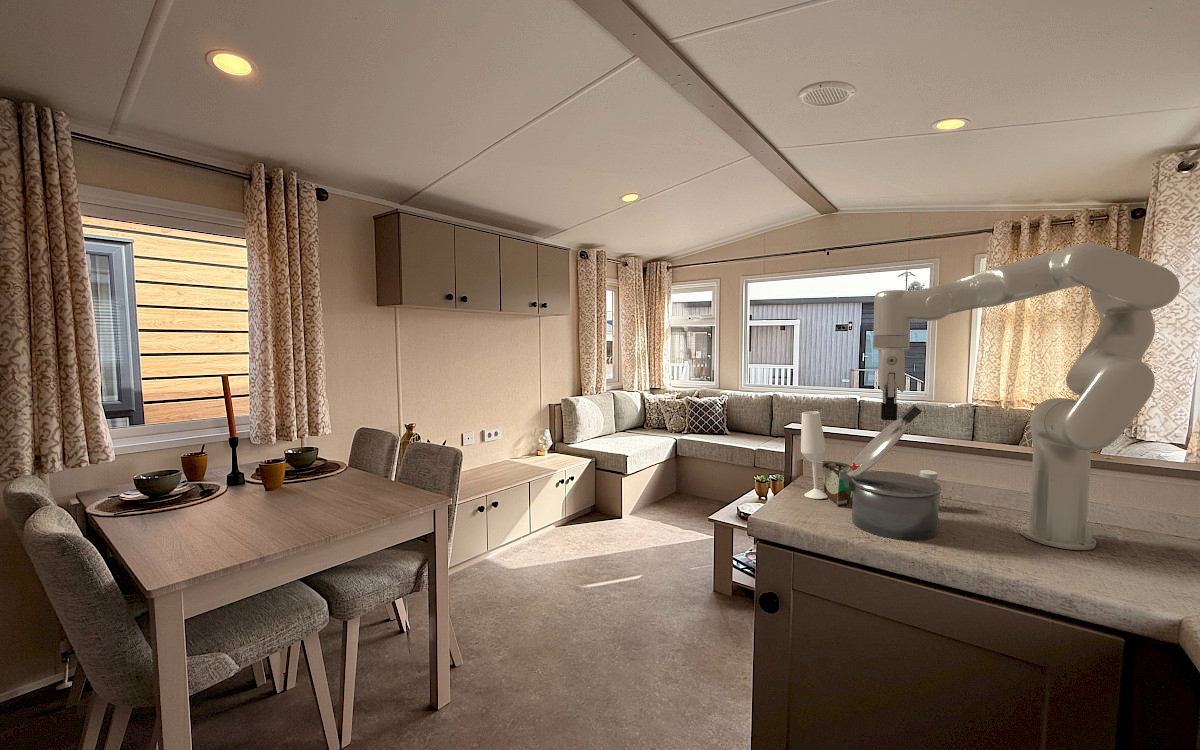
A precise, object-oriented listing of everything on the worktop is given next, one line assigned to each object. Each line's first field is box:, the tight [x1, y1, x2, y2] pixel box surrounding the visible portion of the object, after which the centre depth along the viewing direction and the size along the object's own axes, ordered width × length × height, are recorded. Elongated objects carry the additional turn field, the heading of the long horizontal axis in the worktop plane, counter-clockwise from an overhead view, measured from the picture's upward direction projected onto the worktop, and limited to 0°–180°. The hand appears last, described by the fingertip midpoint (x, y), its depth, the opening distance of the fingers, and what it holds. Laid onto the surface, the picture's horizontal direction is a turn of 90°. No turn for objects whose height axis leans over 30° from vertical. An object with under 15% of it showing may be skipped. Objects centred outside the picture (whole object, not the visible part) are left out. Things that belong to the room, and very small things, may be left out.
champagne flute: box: [800, 410, 827, 500], centre depth 146 cm, size 7×7×24 cm
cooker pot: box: [849, 470, 942, 542], centre depth 123 cm, size 19×19×11 cm
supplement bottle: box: [919, 469, 941, 503], centre depth 135 cm, size 5×5×10 cm
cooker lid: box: [847, 404, 922, 478], centre depth 123 cm, size 22×19×2 cm
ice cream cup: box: [821, 460, 852, 508], centre depth 141 cm, size 12×6×10 cm, turn 178°
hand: (888, 419), depth 122 cm, fingers closed
